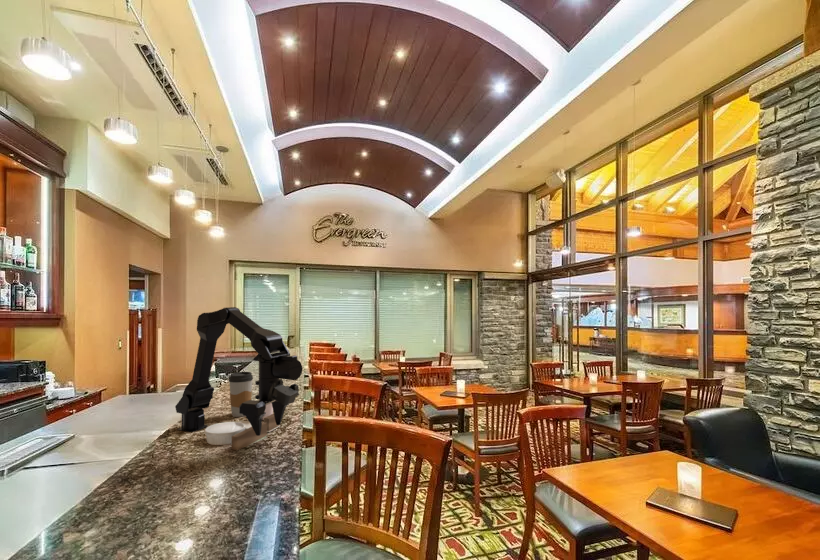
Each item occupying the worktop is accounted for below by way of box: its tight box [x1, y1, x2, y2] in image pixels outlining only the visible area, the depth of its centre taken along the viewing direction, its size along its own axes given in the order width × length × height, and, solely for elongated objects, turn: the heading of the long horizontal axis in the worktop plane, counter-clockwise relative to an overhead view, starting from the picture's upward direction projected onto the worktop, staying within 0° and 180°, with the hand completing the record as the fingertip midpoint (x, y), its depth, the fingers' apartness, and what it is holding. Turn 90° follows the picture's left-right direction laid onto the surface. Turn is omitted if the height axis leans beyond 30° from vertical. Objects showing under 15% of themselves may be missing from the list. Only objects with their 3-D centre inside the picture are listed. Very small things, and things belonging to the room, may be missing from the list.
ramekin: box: [204, 421, 246, 446], centre depth 125 cm, size 11×11×5 cm
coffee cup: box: [228, 371, 254, 418], centre depth 151 cm, size 8×8×15 cm
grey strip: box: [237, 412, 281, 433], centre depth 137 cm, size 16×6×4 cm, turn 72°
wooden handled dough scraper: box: [231, 421, 268, 451], centre depth 124 cm, size 16×13×4 cm
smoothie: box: [256, 390, 274, 421], centre depth 147 cm, size 6×6×14 cm
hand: (268, 430), depth 120 cm, fingers open, 9 cm apart
